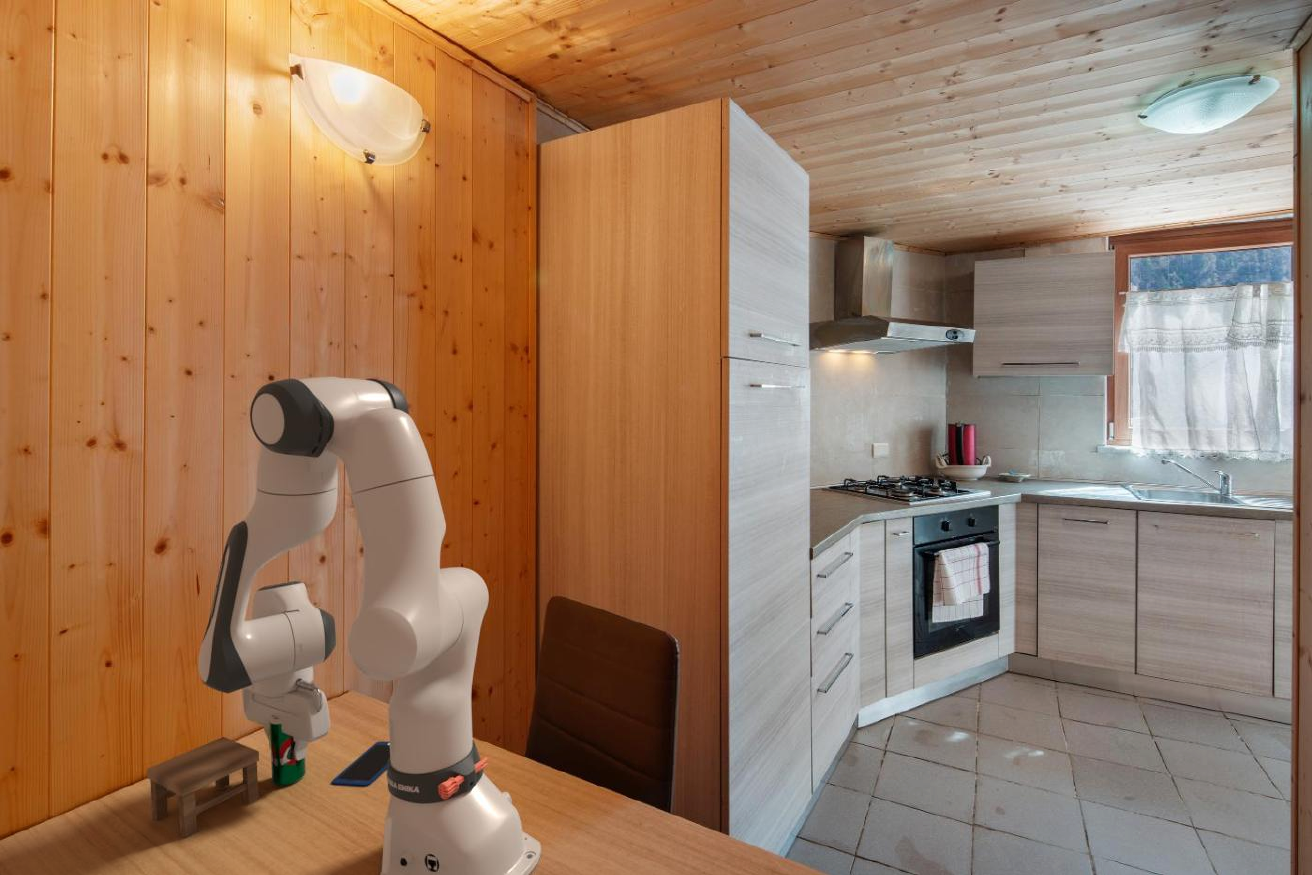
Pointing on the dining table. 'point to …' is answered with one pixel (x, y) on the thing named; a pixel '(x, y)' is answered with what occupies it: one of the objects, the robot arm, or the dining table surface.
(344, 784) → the cell phone
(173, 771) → the stool
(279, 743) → the soda can
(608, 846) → the dining table surface
